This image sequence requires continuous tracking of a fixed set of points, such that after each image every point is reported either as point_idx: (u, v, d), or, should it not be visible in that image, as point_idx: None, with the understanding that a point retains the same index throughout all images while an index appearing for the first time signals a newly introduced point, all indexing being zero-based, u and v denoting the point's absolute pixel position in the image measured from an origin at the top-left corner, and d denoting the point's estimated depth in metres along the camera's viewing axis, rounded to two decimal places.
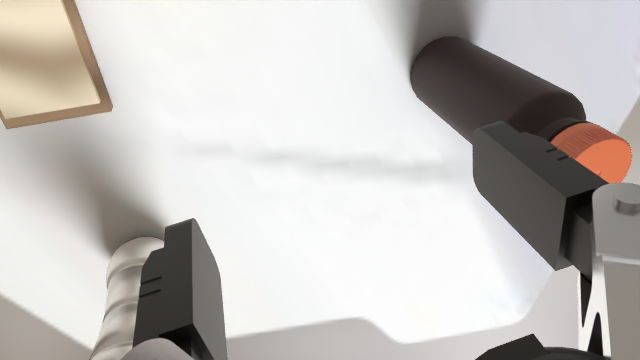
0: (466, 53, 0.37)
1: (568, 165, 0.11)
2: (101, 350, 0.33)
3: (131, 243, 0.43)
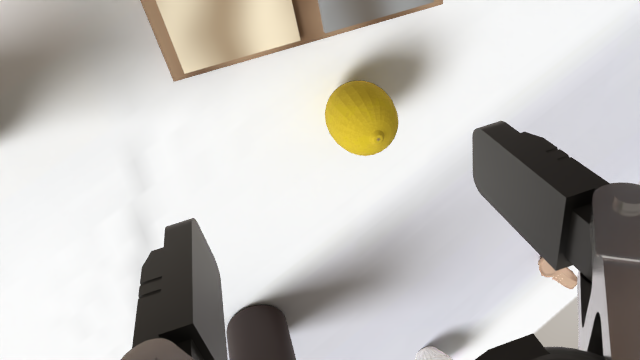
0: (291, 348, 0.47)
1: (568, 165, 0.11)
2: None
3: None
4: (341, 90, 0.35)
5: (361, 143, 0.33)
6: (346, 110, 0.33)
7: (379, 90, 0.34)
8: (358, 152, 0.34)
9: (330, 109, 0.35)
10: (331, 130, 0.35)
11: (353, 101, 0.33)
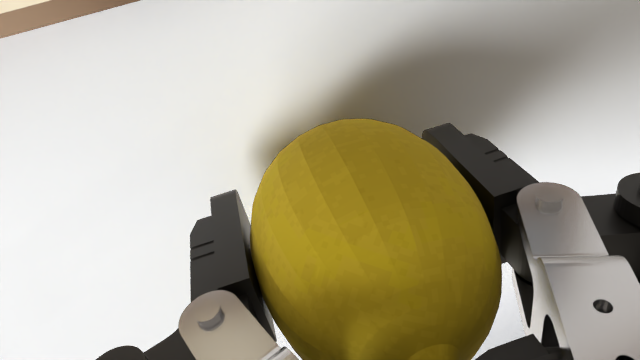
0: None
1: (505, 166, 0.11)
2: None
3: None
4: (295, 157, 0.10)
5: None
6: (305, 250, 0.08)
7: (433, 162, 0.09)
8: None
9: (257, 225, 0.10)
10: (262, 295, 0.10)
11: (333, 214, 0.08)
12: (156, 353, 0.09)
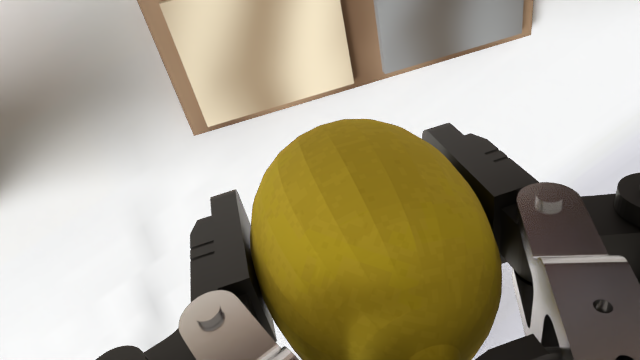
0: None
1: (505, 165, 0.11)
2: None
3: None
4: (296, 158, 0.10)
5: None
6: (305, 251, 0.08)
7: (433, 162, 0.09)
8: None
9: (257, 226, 0.10)
10: (263, 296, 0.10)
11: (334, 215, 0.08)
12: (156, 353, 0.09)
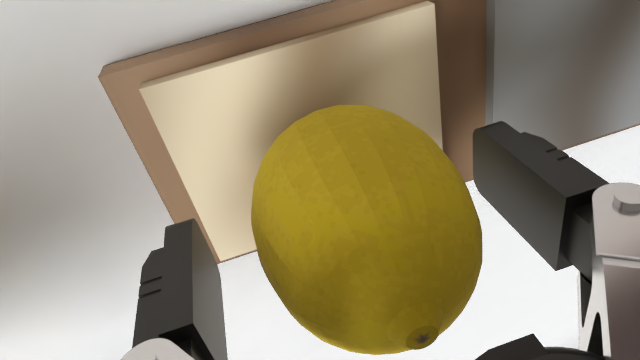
0: None
1: (568, 165, 0.11)
2: None
3: None
4: (293, 139, 0.11)
5: (358, 340, 0.09)
6: (302, 220, 0.09)
7: (419, 141, 0.10)
8: (349, 350, 0.10)
9: (258, 202, 0.11)
10: (263, 267, 0.11)
11: (327, 187, 0.09)
12: None
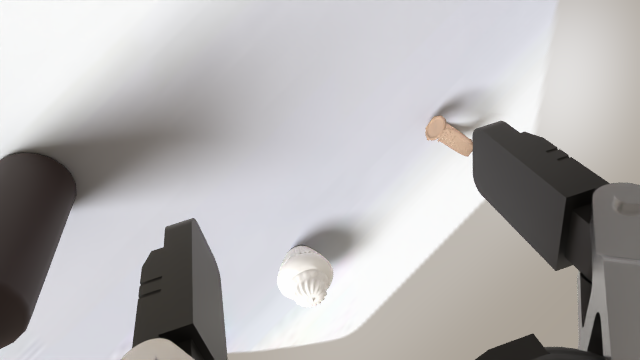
0: (53, 201, 0.35)
1: (568, 165, 0.11)
2: None
3: None
4: None
5: None
6: None
7: None
8: None
9: None
10: None
11: None
12: None
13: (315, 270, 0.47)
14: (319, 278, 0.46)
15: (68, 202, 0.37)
